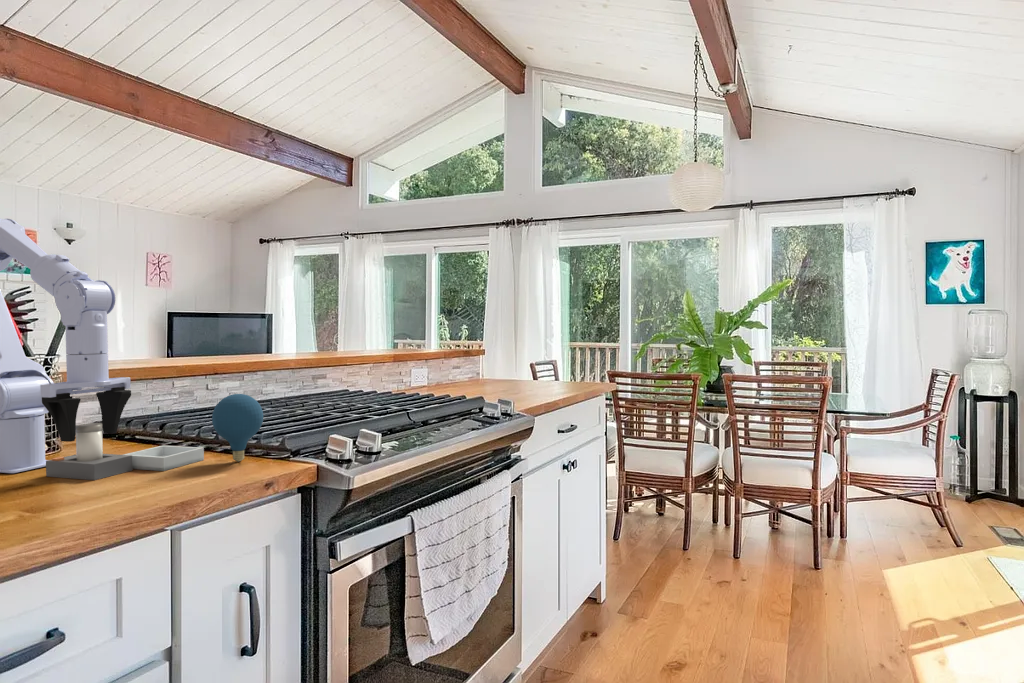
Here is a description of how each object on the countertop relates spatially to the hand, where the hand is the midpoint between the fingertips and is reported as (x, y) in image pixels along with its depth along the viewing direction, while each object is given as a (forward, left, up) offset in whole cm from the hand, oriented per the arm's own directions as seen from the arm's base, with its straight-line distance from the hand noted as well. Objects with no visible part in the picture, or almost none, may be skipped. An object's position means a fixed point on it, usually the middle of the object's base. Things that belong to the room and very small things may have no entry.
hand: (89, 437), depth 105 cm
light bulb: (+17, +14, -6) cm, 23 cm away
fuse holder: (0, 0, -6) cm, 6 cm away
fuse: (0, 0, -6) cm, 6 cm away
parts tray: (+6, +9, -6) cm, 12 cm away
